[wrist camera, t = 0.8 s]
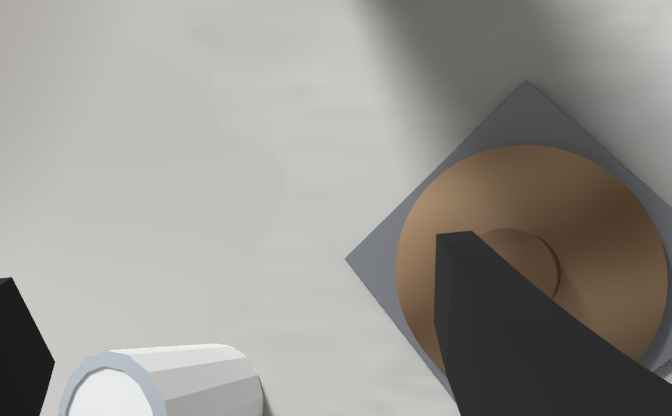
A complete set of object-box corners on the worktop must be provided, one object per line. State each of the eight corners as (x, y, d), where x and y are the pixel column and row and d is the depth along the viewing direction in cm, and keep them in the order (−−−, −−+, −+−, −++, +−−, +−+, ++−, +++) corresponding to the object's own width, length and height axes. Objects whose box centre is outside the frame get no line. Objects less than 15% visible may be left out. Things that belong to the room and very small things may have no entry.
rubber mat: (763, 290, 18) (765, 290, 18) (512, 470, 21) (510, 473, 21) (527, 82, 22) (526, 79, 22) (348, 258, 25) (344, 258, 25)
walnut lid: (739, 288, 18) (757, 292, 16) (512, 454, 21) (498, 480, 18) (525, 96, 22) (512, 76, 19) (358, 260, 25) (328, 260, 22)
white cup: (199, 486, 28) (82, 550, 22) (155, 366, 31) (37, 392, 24) (295, 435, 26) (193, 490, 20) (240, 308, 28) (132, 321, 22)
